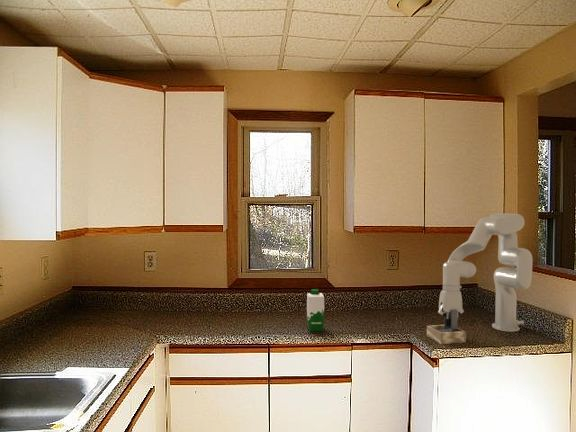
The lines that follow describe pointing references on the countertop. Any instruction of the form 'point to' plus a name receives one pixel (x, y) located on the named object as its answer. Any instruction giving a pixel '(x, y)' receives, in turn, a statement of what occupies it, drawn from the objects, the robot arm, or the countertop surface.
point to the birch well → (446, 335)
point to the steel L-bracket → (451, 322)
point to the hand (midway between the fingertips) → (450, 325)
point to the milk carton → (315, 310)
